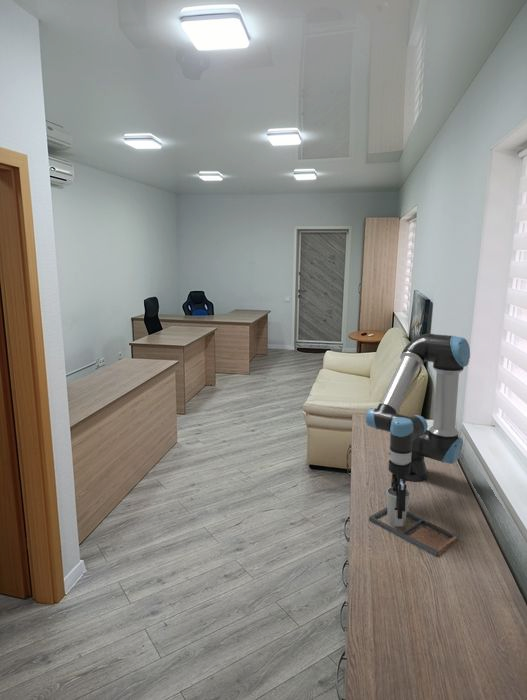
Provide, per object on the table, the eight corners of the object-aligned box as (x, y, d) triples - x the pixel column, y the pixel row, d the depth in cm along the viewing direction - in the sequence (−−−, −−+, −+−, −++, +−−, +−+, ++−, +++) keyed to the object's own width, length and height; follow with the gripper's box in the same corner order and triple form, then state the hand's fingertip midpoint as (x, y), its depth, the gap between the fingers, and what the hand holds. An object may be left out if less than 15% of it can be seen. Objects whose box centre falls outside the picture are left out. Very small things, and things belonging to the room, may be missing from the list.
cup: (408, 529, 160) (410, 498, 158) (385, 526, 161) (387, 496, 159) (406, 517, 167) (408, 487, 165) (384, 515, 169) (386, 485, 167)
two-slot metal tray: (368, 520, 165) (369, 516, 165) (391, 507, 174) (391, 504, 174) (436, 556, 145) (436, 552, 145) (458, 540, 153) (458, 536, 153)
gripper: (384, 449, 170) (381, 504, 175) (394, 473, 150) (390, 534, 155) (404, 450, 170) (401, 505, 174) (417, 474, 150) (413, 536, 154)
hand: (396, 519), depth 164 cm, fingers closed on cup, 7 cm apart
